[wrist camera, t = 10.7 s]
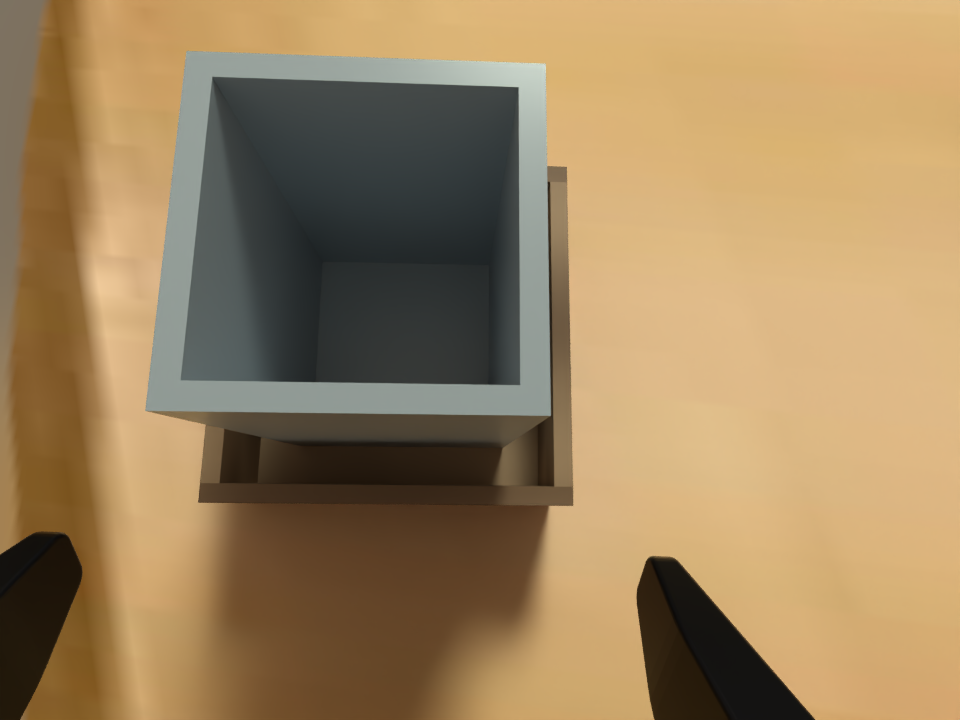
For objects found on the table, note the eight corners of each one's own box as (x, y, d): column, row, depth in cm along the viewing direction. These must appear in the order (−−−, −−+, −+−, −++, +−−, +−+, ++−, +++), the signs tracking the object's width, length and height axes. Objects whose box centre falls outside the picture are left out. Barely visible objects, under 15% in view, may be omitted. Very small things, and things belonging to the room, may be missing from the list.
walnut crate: (550, 500, 20) (573, 505, 16) (248, 498, 20) (198, 502, 16) (546, 222, 22) (566, 166, 18) (271, 214, 22) (231, 156, 18)
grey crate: (502, 447, 20) (550, 416, 10) (300, 445, 20) (144, 411, 10) (502, 257, 21) (545, 63, 11) (312, 253, 21) (186, 51, 11)
